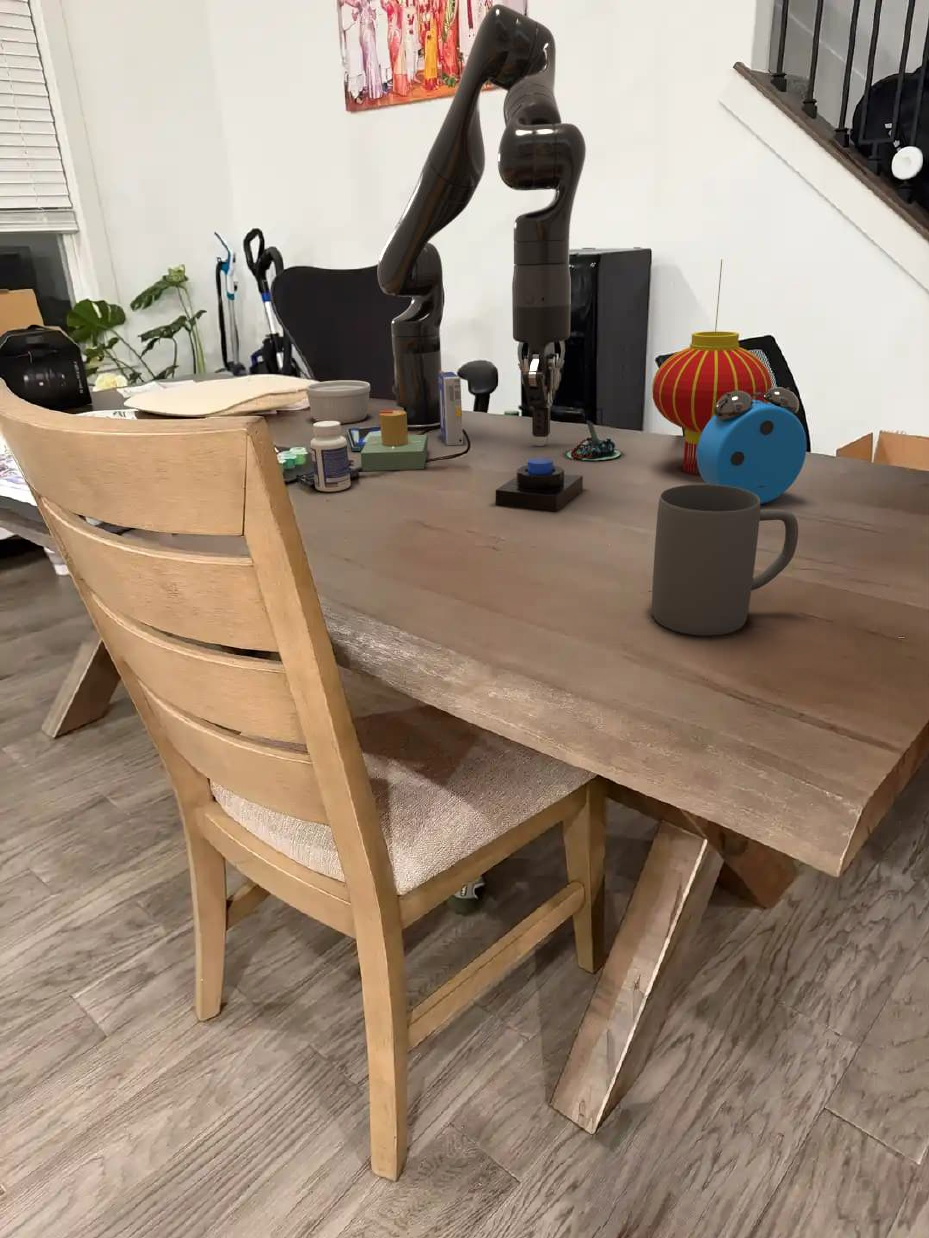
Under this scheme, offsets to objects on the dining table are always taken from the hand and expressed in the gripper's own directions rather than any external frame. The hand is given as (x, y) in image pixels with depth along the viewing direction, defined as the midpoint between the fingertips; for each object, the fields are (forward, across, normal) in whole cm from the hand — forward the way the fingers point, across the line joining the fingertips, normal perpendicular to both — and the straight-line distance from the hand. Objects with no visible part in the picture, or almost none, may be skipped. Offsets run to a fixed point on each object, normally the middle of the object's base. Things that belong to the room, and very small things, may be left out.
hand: (541, 435), depth 116 cm
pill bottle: (+9, 0, +32) cm, 33 cm away
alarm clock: (+9, +3, -28) cm, 29 cm away
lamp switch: (+9, 0, 0) cm, 9 cm away
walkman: (+9, +33, +23) cm, 41 cm away
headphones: (+9, +31, +6) cm, 33 cm away
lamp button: (+5, 0, 0) cm, 5 cm away
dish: (+9, +26, -4) cm, 28 cm away
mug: (+9, -36, -25) cm, 45 cm away
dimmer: (+9, +17, +28) cm, 34 cm away
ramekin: (+9, +49, +52) cm, 72 cm away
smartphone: (+9, +30, +38) cm, 49 cm away
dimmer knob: (+6, +17, +28) cm, 33 cm away
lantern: (+9, +19, -22) cm, 30 cm away
